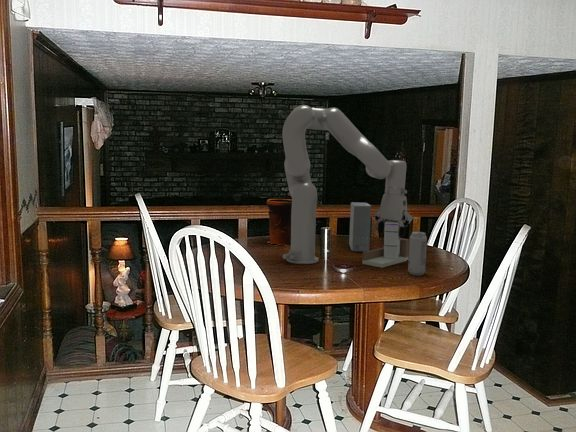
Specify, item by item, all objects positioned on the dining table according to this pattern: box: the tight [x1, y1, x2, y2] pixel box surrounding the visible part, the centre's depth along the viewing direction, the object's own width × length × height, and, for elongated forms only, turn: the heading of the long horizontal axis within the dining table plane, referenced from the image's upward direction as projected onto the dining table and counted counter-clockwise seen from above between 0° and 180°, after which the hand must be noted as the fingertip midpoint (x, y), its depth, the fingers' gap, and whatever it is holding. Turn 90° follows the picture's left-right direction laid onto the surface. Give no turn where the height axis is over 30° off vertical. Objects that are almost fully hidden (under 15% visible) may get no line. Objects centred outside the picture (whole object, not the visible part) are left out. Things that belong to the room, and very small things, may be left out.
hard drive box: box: [348, 201, 372, 252], centre depth 243 cm, size 16×8×20 cm, turn 179°
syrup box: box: [383, 220, 401, 259], centre depth 219 cm, size 6×6×14 cm
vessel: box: [266, 198, 292, 246], centre depth 253 cm, size 14×14×20 cm
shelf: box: [361, 237, 410, 268], centre depth 217 cm, size 19×9×8 cm, turn 137°
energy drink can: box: [407, 231, 428, 276], centre depth 198 cm, size 6×6×15 cm
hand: (391, 234), depth 218 cm, fingers open, 9 cm apart
